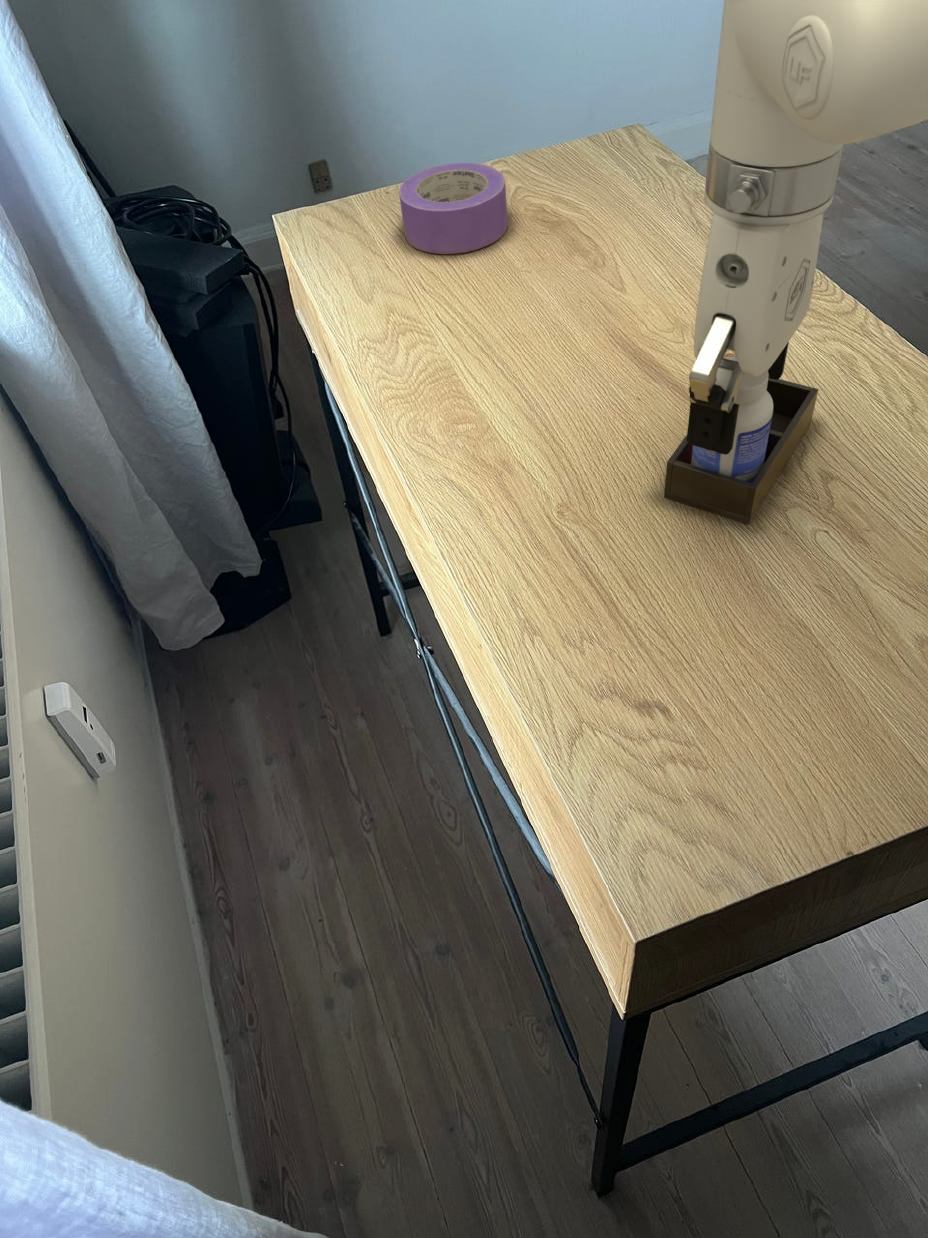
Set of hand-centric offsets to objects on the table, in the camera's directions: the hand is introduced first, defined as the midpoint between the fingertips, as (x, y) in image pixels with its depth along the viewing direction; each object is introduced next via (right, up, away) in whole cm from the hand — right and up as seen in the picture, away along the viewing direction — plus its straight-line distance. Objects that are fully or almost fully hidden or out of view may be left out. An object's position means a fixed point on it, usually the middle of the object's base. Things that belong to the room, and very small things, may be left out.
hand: (735, 409), depth 68 cm
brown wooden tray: (+2, -2, +7) cm, 8 cm away
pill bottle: (+1, -4, +5) cm, 7 cm away
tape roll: (-21, +29, +37) cm, 52 cm away
